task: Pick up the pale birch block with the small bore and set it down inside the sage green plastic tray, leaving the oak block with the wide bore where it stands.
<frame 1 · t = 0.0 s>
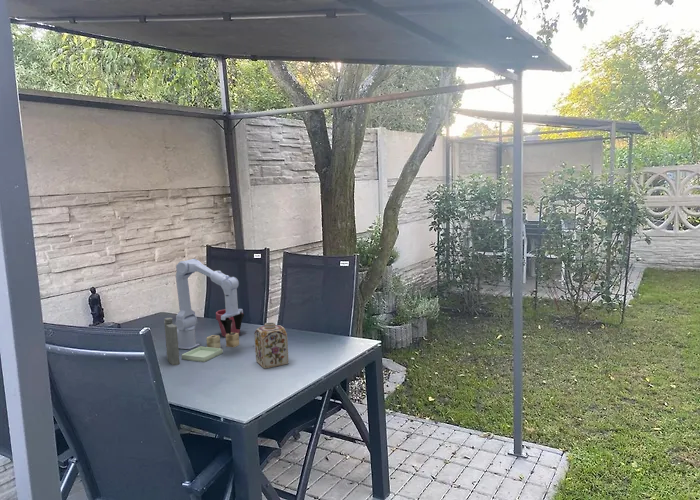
hand: (233, 331, 246), 10 cm above the table, tool pointing down, fingers open, 7 cm apart
plant pot: (231, 335, 277), on the table
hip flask: (172, 360, 238), on the table
birch block: (213, 348, 254), on the table
decorative jar: (272, 363, 229), on the table
oak block: (232, 345, 257), on the table
tray: (202, 356, 242), on the table
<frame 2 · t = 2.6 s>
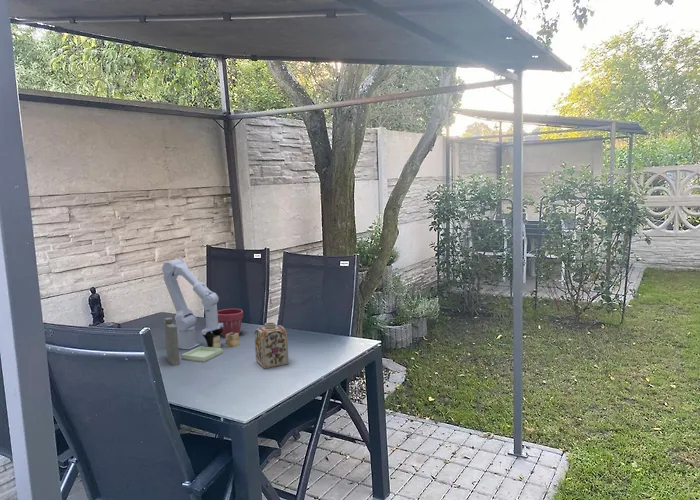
hand: (213, 345, 254), 2 cm above the table, tool pointing down, fingers closed on birch block, 4 cm apart
birch block: (213, 348, 254), on the table, touching gripper
everything else where it was.
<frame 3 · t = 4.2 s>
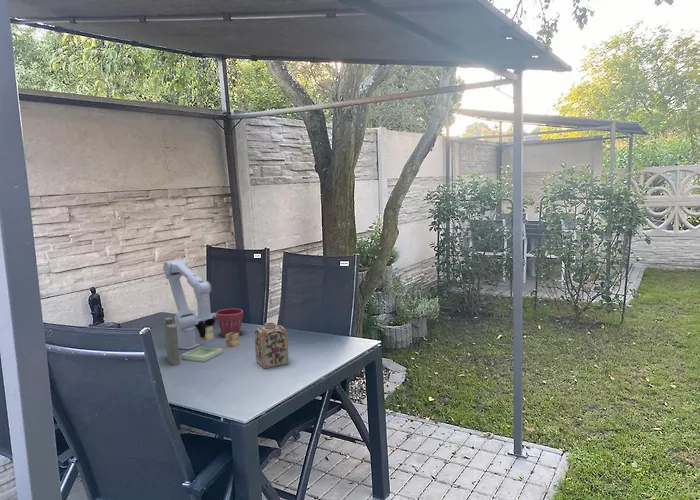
hand: (206, 335, 246), 9 cm above the table, tool pointing down, fingers closed on birch block, 4 cm apart
birch block: (206, 339, 246), point 7 cm above the table, touching gripper
everything else where it was.
when the fingers open (3 cm above the table, at t = 6.3 s): birch block drops 1 cm, resting on tray.
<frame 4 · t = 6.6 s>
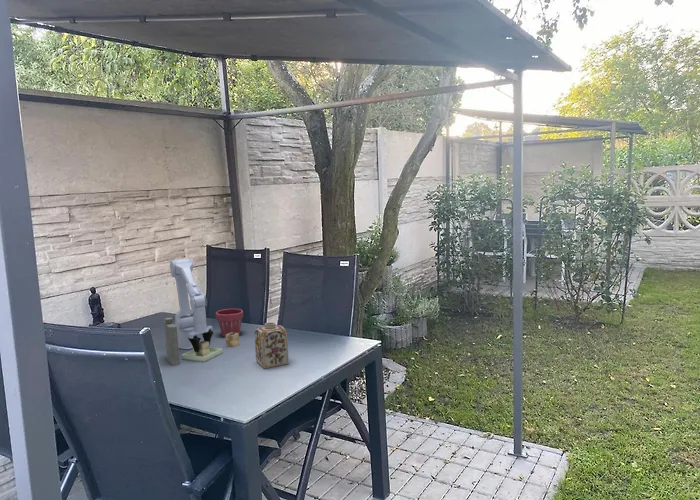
hand: (202, 349, 242), 3 cm above the table, tool pointing down, fingers open, 7 cm apart
birch block: (202, 354, 242), point 1 cm above the table, touching tray
everything else where it was.
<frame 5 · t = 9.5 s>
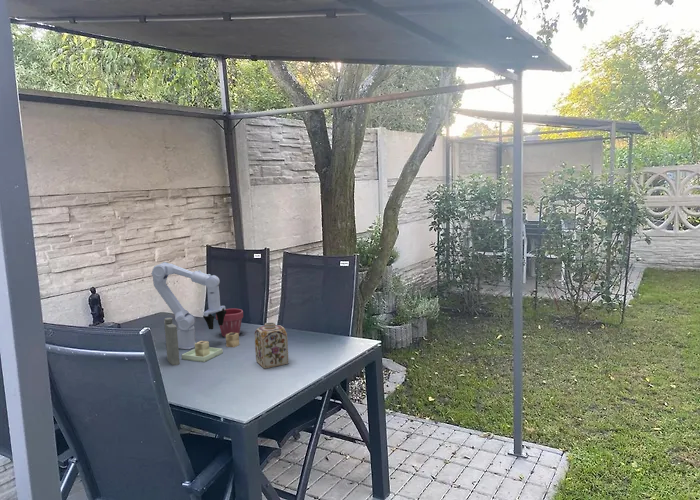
hand: (215, 327, 257), 9 cm above the table, tool pointing down, fingers open, 7 cm apart
nothing on the table moved.
at the end: birch block inside the target area on the tray (0.1 cm from its centre), point 0.6 cm above the tray's base; birch block tilted 0°; oak block moved 0.1 cm from its start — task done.
